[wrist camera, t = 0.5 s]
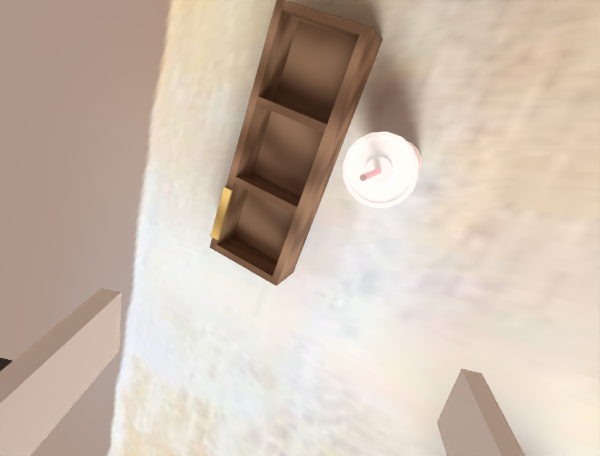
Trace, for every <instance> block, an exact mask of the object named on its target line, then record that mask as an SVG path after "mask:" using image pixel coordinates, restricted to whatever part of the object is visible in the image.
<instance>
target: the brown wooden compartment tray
mask: <svg viewBox="0 0 600 456" xmlns="http://www.w3.org/2000/svg"><path fill="white" fill-rule="evenodd" d="M382 40H383V39H382V38H381V37H380V36H379V35H378V34H377V33H376V32H375V30H374V29H373V28H372V27H369V26H366V25H363V24H359V23H356V22H353V21H350V20H347V19H343V18H340V17H337V16H334V15H331V14H327V13H324V12H321V11H318V10H315V9H311V8H308V7H305V6H302V5H299V4H295V3H292V2H289V1H286V0H277V1H276V5H275V8H274V12H273V16H272V19H271V23H270V27H269V31H268V34H267V38H266V42H265V45H264V49H263V53H262V56H261V60H260V64H259V67H258V71H257V75H256V79H255V82H254V86H253V90H252V93H251V97H250V101H249V104H248V108H247V112H246V115H245V119H244V123H243V126H242V130H241V134H240V138H239V141H238V145H237V149H236V152H235V156H234V160H233V163H232V167H231V171H230V174H229V178H228V182H227V186H226V187H224V188H223V192H222V196H221V199H220V203H219V207H218V211H217V214H216V218H215V222H214V225H213V229H212V233H211V237H212V241H211V245H210V248H212V249H213V250H215V251H217V252H219V253H220V254H222V255H224V256H225V257H227V258H229V259H231V260H232V261H234V262H236V263H238V264H239V265H241V266H243V267H245V268H246V269H248V270H250V271H251V272H253V273H255V274H257V275H258V276H260V277H262V278H264V279H265V280H267V281H269V282H271V283H272V284H274V285H276V286H277V285H278V284H279V283H280V282H282V281H283V280H284V279H286V278H287V277H288V276H289V275H291V274H292V273H293V272H294V269H295V266H296V264H297V261H298V258H299V256H300V253H301V251H302V248H303V245H304V243H305V240H306V238H307V235H308V232H309V230H310V227H311V225H312V222H313V219H314V217H315V214H316V212H317V209H318V206H319V204H320V201H321V199H322V196H323V193H324V191H325V188H326V186H327V183H328V180H329V178H330V175H331V172H332V170H333V167H334V165H335V162H336V159H337V157H338V154H339V152H340V149H341V146H342V144H343V141H344V139H345V136H346V133H347V131H348V128H349V126H350V123H351V120H352V118H353V115H354V113H355V110H356V107H357V105H358V102H359V100H360V97H361V94H362V92H363V89H364V86H365V84H366V81H367V79H368V76H369V73H370V71H371V68H372V66H373V63H374V60H375V58H376V55H377V53H378V50H379V47H380V45H381V42H382Z"/></svg>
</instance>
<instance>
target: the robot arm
mask: <svg viewBox="0 0 600 456" xmlns="http://www.w3.org/2000/svg"><path fill="white" fill-rule="evenodd" d="M120 316H121V292H117V291H113V290H109V289H104V288H101V289H100V290H99V291H97V292H96V293H95V294H94V295H93V296H91V297H90V298H89V299H88V300H86V301H85V302H84V303H83V304H82V305H80V306H79V307H78V308H77V309H75V310H74V311H73V312H72V313H71V314H69V315H68V316H67V317H66V318H65V319H63V320H62V321H61V322H60V323H59V324H57V325H56V326H55V327H54V328H52V329H51V330H50V331H49V332H48V333H47V334H45V335H44V336H43V337H42V338H41V339H39V340H38V341H37V342H35V343H34V344H33V345H32V346H31V347H30V348H28V349H27V350H26V351H25V352H23V353H22V354H21V355H20V356H19V357H17V358H16V359H15V360H14V361H12V360H8V359H3V358H0V456H30V455H31V454H32V453H33V452H34V451H35V450H36V448H37V447H38V446H39V445H40V444H41V443H42V441H43V440H44V439H45V438H46V437H47V435H48V434H49V433H50V432H51V431H52V430H53V428H54V427H55V426H56V425H57V423H58V422H59V421H60V420H61V419H62V418H63V417H64V415H65V414H66V413H67V412H68V411H69V409H70V408H71V407H72V406H73V405H74V404H75V402H76V401H77V400H78V399H79V398H80V396H81V395H82V394H83V393H84V392H85V391H86V389H87V388H88V387H89V386H90V385H91V383H92V382H93V381H94V380H95V379H96V378H97V376H98V375H99V374H100V373H101V372H102V370H103V369H104V368H105V367H106V366H107V365H108V363H109V362H110V361H111V360H112V359H113V358H114V356H115V355H116V354H117V353H118V352H119V350H120ZM437 423H438V427H439V430H440V433H441V436H442V440H443V443H444V446H445V449H446V453H447V456H525V455H524V453H523V452H522V450H521V448H520V446H519V444H518V442H517V440H516V438H515V436H514V434H513V432H512V430H511V429H510V427H509V425H508V423H507V421H506V419H505V417H504V415H503V413H502V411H501V409H500V408H499V406H498V404H497V402H496V400H495V398H494V396H493V394H492V392H491V390H490V388H489V387H488V385H487V383H486V381H485V379H484V377H483V375H482V374H481V373H477V372H472V371H468V370H464V369H461V371H460V373H459V376H458V378H457V380H456V382H455V384H454V387H453V389H452V391H451V393H450V396H449V398H448V400H447V402H446V404H445V407H444V409H443V411H442V413H441V415H440V418H439V420H438V422H437Z"/></svg>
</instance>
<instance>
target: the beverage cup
mask: <svg viewBox="0 0 600 456" xmlns="http://www.w3.org/2000/svg"><path fill="white" fill-rule="evenodd" d="M420 168H421V155H420V153H419V151H418V149H417V148H416V147H415V146H414V145H413V144H412V143H410V142H407V141H406V140H405V139H404V138H403V137H401V136H398V135H396V134H393V133H390V132H373V133H369V134H367V135H365V136H363V137H361V138H359V139H357V141H356V142H355V143H354V144H353V145H352V146H351V148H350V149H349V150H348V151H347V154H346V157H345V160H344V163H343V179H344V182H345V184H346V186H347V189H348V191H349V193H350V194H351V195H352V196H353V197H354V198H355V199H356V200H357V201H359V202H360V203H362V204H365V205H367V206H370V207H372V208H388V207H391V206H393V205H396V204H398V203H401V202H402V201H403V200H404V199H405V198H406V197H407V196H408V195H409V194H410V193H411V192H412V191H413V189H414V187H415V185H416V182H417V180H418V178H419V170H420Z"/></svg>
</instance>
